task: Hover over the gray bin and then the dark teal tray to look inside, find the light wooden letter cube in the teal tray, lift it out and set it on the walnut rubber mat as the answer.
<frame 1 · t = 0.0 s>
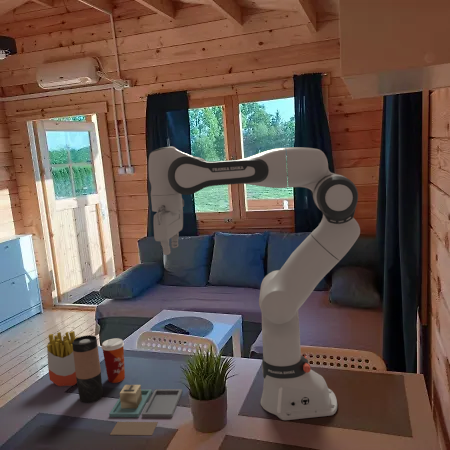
hand: (171, 250, 130), 48 cm above the table, tool pointing down, fingers open, 8 cm apart
teal bin: (132, 405, 138), on the table
letter cube: (131, 403, 137), resting on teal bin
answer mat: (134, 430, 125), on the table
french fries container: (68, 383, 155), on the table
travel mug: (91, 399, 143), on the table
paper cup: (116, 380, 155), on the table
gray bin: (163, 405, 136), on the table
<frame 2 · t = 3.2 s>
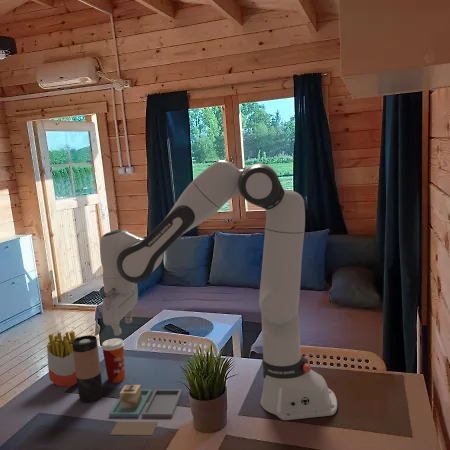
hand: (123, 328, 134), 25 cm above the table, tool pointing down, fingers open, 8 cm apart
nothing on the table moved.
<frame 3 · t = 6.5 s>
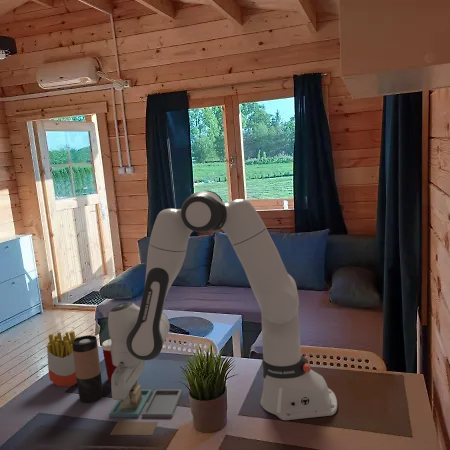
hand: (131, 397, 137), 3 cm above the table, tool pointing down, fingers closed on letter cube, 5 cm apart
letter cube: (131, 403, 137), resting on teal bin, touching gripper
everything else where it was.
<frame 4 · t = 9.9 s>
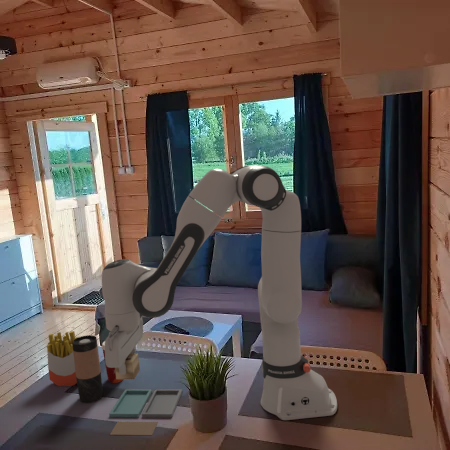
hand: (127, 367, 122), 19 cm above the table, tool pointing down, fingers closed on letter cube, 5 cm apart
letter cube: (128, 374, 122), point 17 cm above the table, touching gripper
everything else where it was.
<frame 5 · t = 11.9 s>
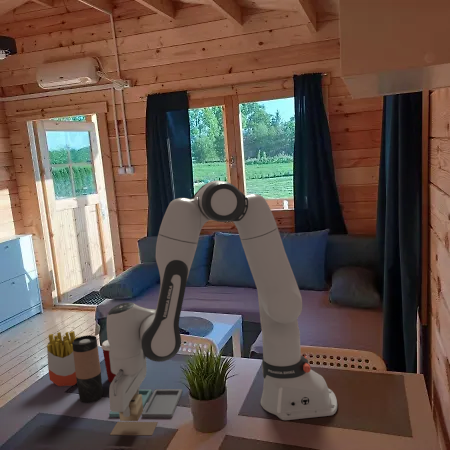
hand: (131, 408, 124), 7 cm above the table, tool pointing down, fingers closed on letter cube, 5 cm apart
letter cube: (131, 415, 124), point 4 cm above the table, touching gripper
everything else where it was.
when the fingers open (4 cm above the table, at t = 13.4 s): letter cube stays where it is, resting on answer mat.
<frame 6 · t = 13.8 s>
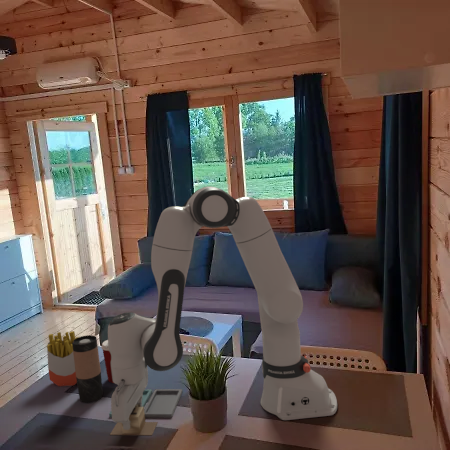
hand: (133, 418, 124), 4 cm above the table, tool pointing down, fingers open, 8 cm apart
letter cube: (134, 428, 125), point 1 cm above the table, touching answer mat
everything else where it was.
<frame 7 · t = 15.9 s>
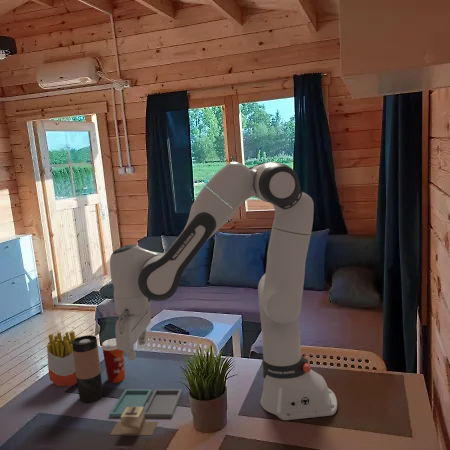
hand: (137, 351, 124), 22 cm above the table, tool pointing down, fingers open, 8 cm apart
nothing on the table moved.
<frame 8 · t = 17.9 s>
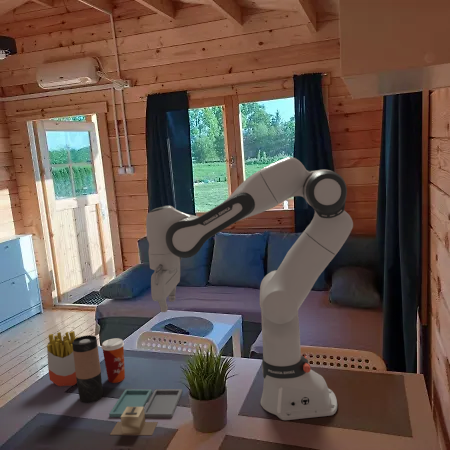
hand: (168, 306, 133), 31 cm above the table, tool pointing down, fingers open, 8 cm apart
nothing on the table moved.
at the end: letter cube inside the target area on the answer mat (0.0 cm from its centre), point 0.6 cm above the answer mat's base; letter cube tilted 0°; the gripper is holding nothing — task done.
